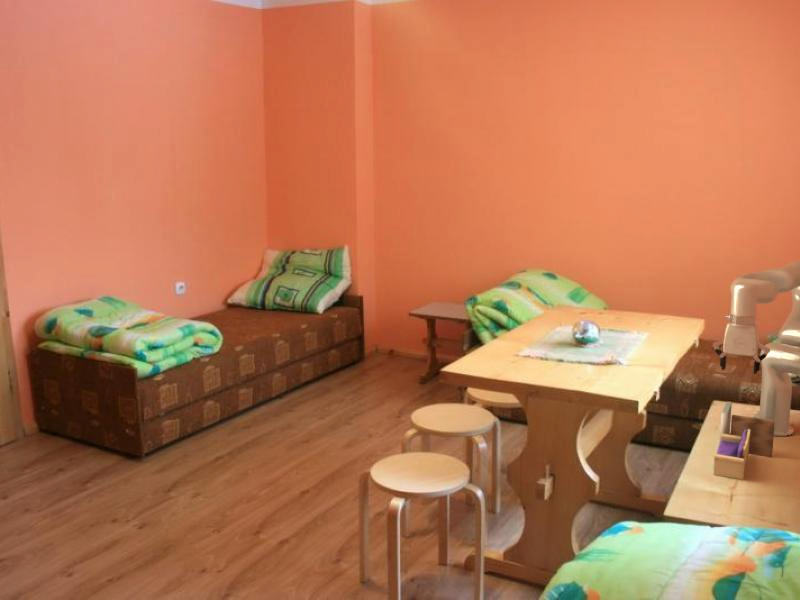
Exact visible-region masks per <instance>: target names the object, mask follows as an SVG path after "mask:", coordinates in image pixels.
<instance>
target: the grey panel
mask: <svg viewBox="0 0 800 600" xmlns="http://www.w3.org/2000/svg"><path fill="white" fill-rule="evenodd" d="M732 404H733V403H732V402H731V401H726V402H725V405H724V407H723V410H722V412H721V413H720V429H719V444H720V441H721V434H728V435H730V434H731V420H732V406H733V405H732ZM719 444H718V445H719Z"/></svg>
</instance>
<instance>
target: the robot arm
mask: <svg viewBox="0 0 800 600" xmlns="http://www.w3.org/2000/svg"><path fill="white" fill-rule="evenodd" d="M729 291H730V294H731V301H730V302H731V303H730V313H729V314H728V315H727V314H726V315H725V320H727V321H729V322H727V323H726V326H725V330H724V338H723V339H720V340H718V341H715V342H713V343H712V347H713V349H714V351H715V353H716V354H717V355H718V356H719V360H720V361H719V367H721V370H723V371H724V370H725V369H727V356H726V355H735V356H743V357H752V358H753V359H754V360H755V361H754V362H753V374H754V375H756V374H757V373H758V372H760V368H761V387H760V388H761V389H760V400H759V401H760V402H759V411H757V412H755V413H753V416H752V417H753V418H760V419H767V420H775V425H774V437H788V436H787V435H789V436H791V434H792V435H793V434H794V433H795V432H794V428H793V427H792V426H790V420H791V419H790V417H791V416H790V415H791V404H792V392H793V381H792V379H791V376H790V375H789V374H791V375H796V376H800V260H795V261H792V262H790V263H788V264H787V263H786V264H785V265H783V266H781V267H778V268H774V269H767V270H760V271H753V272H749V273H748V272H747V273H745V274H743V275H740V276H739V277H736V278H735V279H734V280H733V281H732V283H731V285H730V290H729ZM790 291H791V300H792V301H791V302H792V309H791V311H790V314H789V315H788V316H787V318H786V320H785V322H784V323H783V325H782V326H781V328H780V329H779V332H778V335H777V340H778V342H770V343H767V344H765V345H764V344H762V343H760V342H759V339H760V337H759V328H758V324H756V319H757V305H758V304H765V305H766V304H771V303H772V302H774V301H775V300H776V299H777V298H778V294H783V293H785V294H786V293H788V292H790ZM720 345H722V350H721V349H720V348H719V346H720ZM759 349H760V350H761V351H760V354H759V353H758V352H759ZM760 366H761V367H760ZM793 432H794V433H793Z"/></svg>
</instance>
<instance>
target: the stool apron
mask: <svg viewBox="0 0 800 600" xmlns="http://www.w3.org/2000/svg"><path fill="white" fill-rule="evenodd" d="M774 425H775V420H767V419H760V418H754V417H753V416H743V415H738V414H737V415H736V414H731V421H730V435H734V436H740V437H742V434H743V432H744V430H745V429H750V430H751V431H750V442H749V453H748V455H754V456H761V457H766V458H773V452H774V450H773V449H774V437H775V436H774Z"/></svg>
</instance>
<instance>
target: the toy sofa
mask: <svg viewBox="0 0 800 600" xmlns="http://www.w3.org/2000/svg"><path fill="white" fill-rule="evenodd" d="M750 431H751V430H750V429H745V430H744V432H743V434H742V437H740V436H734V435H731V434H729V435H728V434H721V441H720V440H719V443H720V444H718V447H717V451H716V453H714V456H713V457H714V458H713V459H714V460H713V462H714V463H713V475H715V476H719V477H720V476H721V477H726V478H731V479H738V480H744V478H745V477H744V476H745V475H744V474H745V466H746V462H747V459H749V454H748V453H749V442H750Z"/></svg>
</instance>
